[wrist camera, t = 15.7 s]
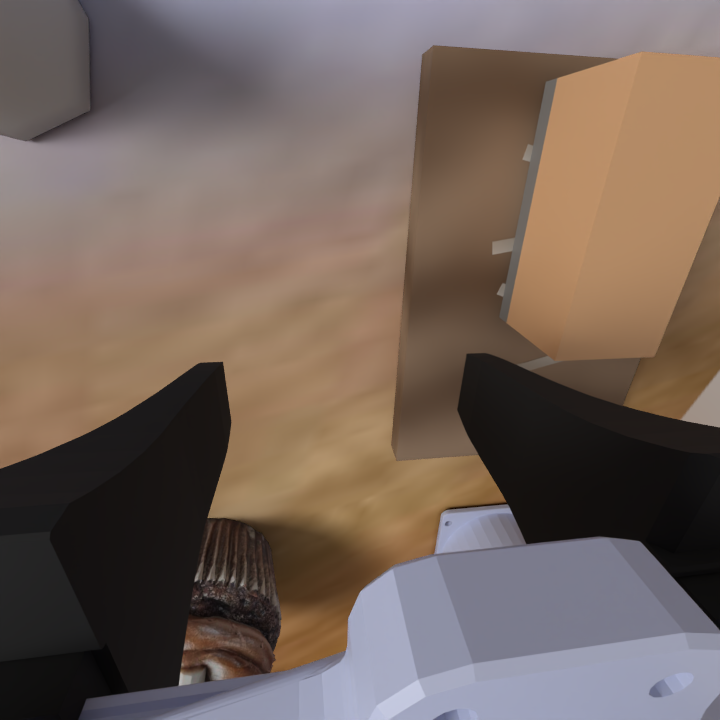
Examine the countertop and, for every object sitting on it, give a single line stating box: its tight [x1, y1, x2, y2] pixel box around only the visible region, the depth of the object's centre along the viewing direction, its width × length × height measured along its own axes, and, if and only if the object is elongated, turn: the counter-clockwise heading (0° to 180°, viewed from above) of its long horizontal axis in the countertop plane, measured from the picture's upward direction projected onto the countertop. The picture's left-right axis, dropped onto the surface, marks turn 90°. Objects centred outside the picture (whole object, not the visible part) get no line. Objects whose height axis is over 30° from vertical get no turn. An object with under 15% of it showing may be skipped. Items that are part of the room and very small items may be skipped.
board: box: [391, 45, 641, 461], centre depth 21 cm, size 20×14×2 cm
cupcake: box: [179, 518, 281, 686], centre depth 23 cm, size 10×10×10 cm
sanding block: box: [499, 52, 720, 361], centre depth 16 cm, size 10×4×5 cm, turn 179°
